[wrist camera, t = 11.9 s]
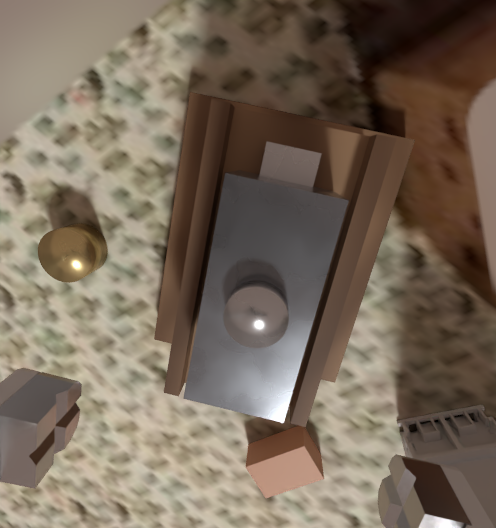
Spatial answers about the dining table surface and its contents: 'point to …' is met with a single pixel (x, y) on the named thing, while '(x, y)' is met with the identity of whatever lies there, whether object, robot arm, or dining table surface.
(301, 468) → the terracotta block
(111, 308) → the dining table surface
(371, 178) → the stand
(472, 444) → the circuit breaker
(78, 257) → the brass knob
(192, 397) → the slider plate with knob
